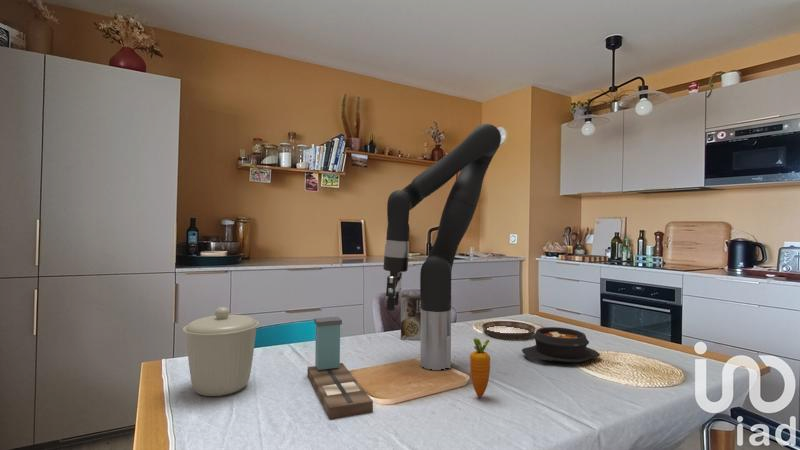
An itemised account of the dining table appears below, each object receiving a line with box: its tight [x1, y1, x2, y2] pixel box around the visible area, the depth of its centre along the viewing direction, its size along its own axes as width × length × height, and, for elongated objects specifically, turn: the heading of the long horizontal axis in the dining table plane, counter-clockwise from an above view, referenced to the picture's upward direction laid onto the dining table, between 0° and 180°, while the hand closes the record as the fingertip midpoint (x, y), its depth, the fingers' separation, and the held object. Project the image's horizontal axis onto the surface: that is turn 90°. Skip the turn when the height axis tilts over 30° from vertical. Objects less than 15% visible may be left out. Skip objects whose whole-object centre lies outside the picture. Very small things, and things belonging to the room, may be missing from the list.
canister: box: [182, 306, 260, 397], centre depth 106 cm, size 18×18×21 cm
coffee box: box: [400, 293, 421, 341], centre depth 156 cm, size 9×6×16 cm
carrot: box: [469, 337, 491, 399], centre depth 101 cm, size 5×5×15 cm
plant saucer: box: [481, 320, 537, 341], centre depth 163 cm, size 21×21×3 cm
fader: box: [313, 316, 343, 370], centre depth 114 cm, size 5×7×13 cm
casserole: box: [521, 326, 601, 364], centre depth 133 cm, size 25×19×8 cm
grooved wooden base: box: [306, 362, 374, 420], centre depth 104 cm, size 28×10×3 cm, turn 22°
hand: (392, 307), depth 126 cm, fingers open, 8 cm apart
